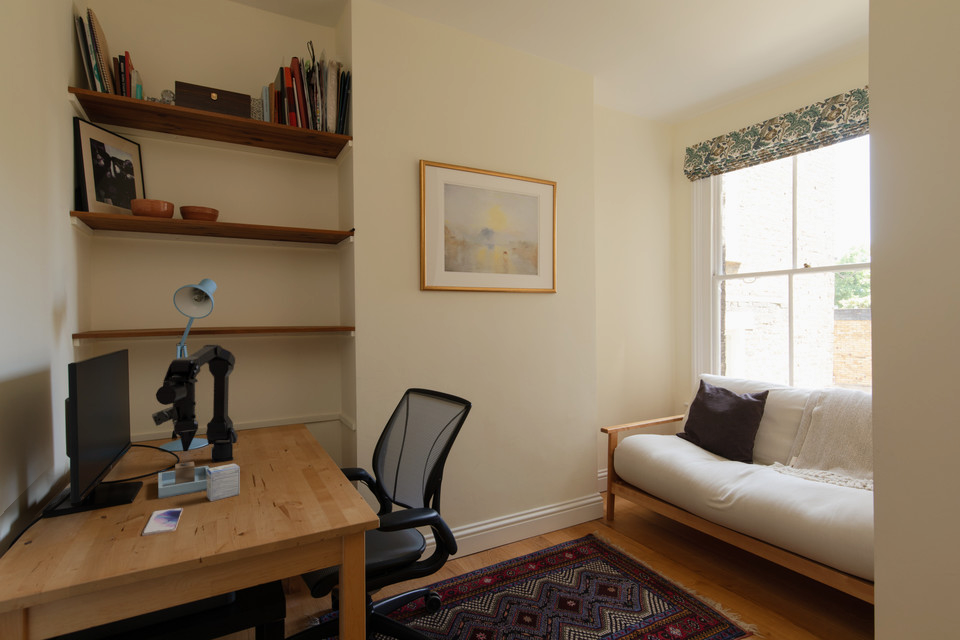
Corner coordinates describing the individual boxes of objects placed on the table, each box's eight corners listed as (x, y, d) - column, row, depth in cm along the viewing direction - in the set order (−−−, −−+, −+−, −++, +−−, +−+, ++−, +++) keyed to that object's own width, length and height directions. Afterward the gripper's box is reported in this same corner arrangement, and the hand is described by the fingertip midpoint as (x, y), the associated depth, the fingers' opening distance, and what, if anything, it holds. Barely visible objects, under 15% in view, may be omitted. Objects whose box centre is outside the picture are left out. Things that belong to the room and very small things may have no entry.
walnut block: (193, 479, 154) (193, 461, 154) (194, 484, 150) (194, 465, 150) (175, 482, 151) (175, 463, 151) (175, 487, 147) (175, 467, 147)
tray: (208, 474, 161) (208, 465, 161) (212, 489, 148) (213, 479, 148) (158, 482, 153) (158, 473, 153) (158, 498, 140) (158, 488, 140)
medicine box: (235, 490, 146) (235, 462, 146) (239, 494, 143) (240, 466, 143) (206, 497, 141) (206, 468, 141) (210, 502, 138) (210, 472, 138)
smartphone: (183, 507, 133) (175, 529, 119) (183, 510, 133) (175, 532, 119) (153, 510, 130) (141, 533, 116) (152, 514, 130) (140, 537, 116)
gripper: (153, 396, 154) (153, 444, 154) (153, 406, 139) (154, 459, 139) (193, 393, 160) (193, 439, 161) (198, 402, 145) (198, 453, 145)
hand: (184, 447), depth 151 cm, fingers open, 9 cm apart
